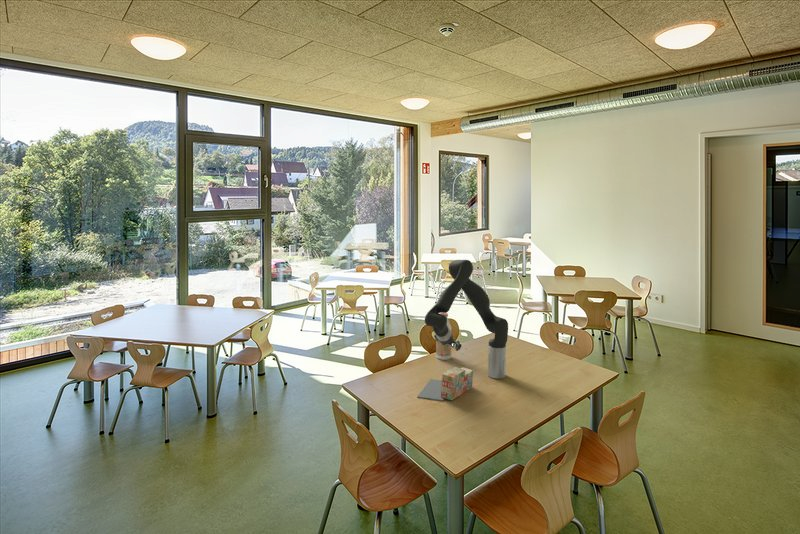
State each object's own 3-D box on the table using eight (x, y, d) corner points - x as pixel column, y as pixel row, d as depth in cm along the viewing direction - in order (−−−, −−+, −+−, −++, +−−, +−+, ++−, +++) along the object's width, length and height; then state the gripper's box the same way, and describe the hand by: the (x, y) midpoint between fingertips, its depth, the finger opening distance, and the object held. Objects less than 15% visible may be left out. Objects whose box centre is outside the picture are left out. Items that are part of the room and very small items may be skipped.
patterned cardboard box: (461, 383, 243) (463, 361, 241) (472, 387, 240) (474, 364, 238) (440, 397, 226) (442, 373, 224) (451, 401, 223) (453, 377, 221)
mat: (454, 382, 246) (454, 381, 245) (443, 401, 223) (443, 400, 223) (430, 379, 250) (430, 378, 250) (417, 397, 227) (417, 396, 227)
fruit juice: (433, 358, 283) (434, 314, 279) (439, 354, 291) (439, 311, 287) (448, 361, 279) (448, 316, 275) (453, 356, 287) (453, 312, 283)
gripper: (459, 332, 229) (465, 345, 242) (435, 322, 236) (442, 335, 250) (452, 345, 227) (459, 357, 240) (428, 335, 234) (435, 347, 247)
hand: (450, 346), depth 245 cm, fingers open, 8 cm apart
